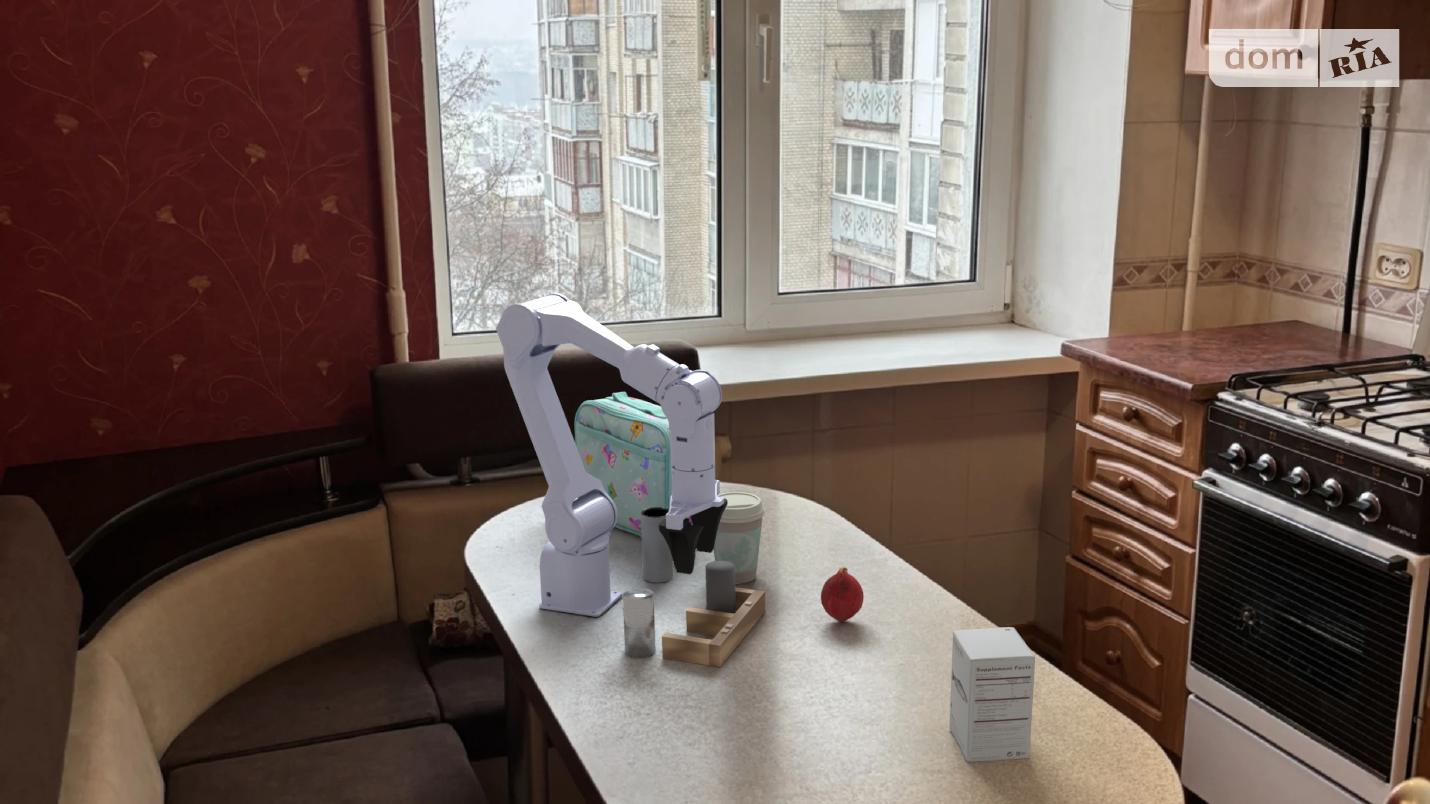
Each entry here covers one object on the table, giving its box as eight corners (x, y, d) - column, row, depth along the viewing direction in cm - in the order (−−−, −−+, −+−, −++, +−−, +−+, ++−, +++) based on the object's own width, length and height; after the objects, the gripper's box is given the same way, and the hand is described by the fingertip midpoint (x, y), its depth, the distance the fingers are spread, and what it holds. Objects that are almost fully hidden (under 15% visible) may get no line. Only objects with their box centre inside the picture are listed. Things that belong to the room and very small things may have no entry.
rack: (662, 657, 164) (661, 635, 163) (711, 603, 180) (711, 582, 179) (720, 667, 161) (719, 644, 160) (765, 611, 177) (765, 590, 176)
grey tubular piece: (677, 572, 190) (676, 508, 188) (666, 584, 186) (665, 518, 184) (649, 569, 192) (647, 505, 189) (638, 580, 188) (636, 515, 185)
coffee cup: (699, 583, 187) (697, 506, 183) (720, 561, 194) (719, 487, 191) (753, 591, 183) (752, 513, 180) (773, 569, 191) (772, 494, 188)
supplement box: (947, 729, 146) (951, 628, 142) (1010, 725, 146) (1015, 625, 143) (965, 764, 139) (969, 658, 135) (1031, 759, 139) (1037, 655, 136)
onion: (861, 632, 170) (861, 577, 168) (818, 629, 171) (818, 574, 169) (865, 614, 175) (865, 560, 173) (823, 611, 177) (823, 558, 174)
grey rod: (619, 655, 165) (617, 598, 163) (632, 642, 168) (630, 586, 166) (648, 660, 163) (646, 602, 161) (660, 646, 167) (658, 590, 165)
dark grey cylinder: (702, 624, 173) (700, 570, 171) (713, 612, 177) (711, 559, 175) (729, 628, 172) (728, 573, 170) (740, 616, 175) (739, 562, 173)
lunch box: (564, 512, 217) (558, 391, 211) (612, 497, 223) (607, 379, 218) (666, 554, 198) (662, 422, 192) (715, 537, 204) (712, 409, 199)
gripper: (702, 485, 158) (703, 586, 161) (740, 451, 171) (741, 545, 174) (649, 479, 160) (652, 579, 164) (691, 446, 173) (693, 539, 177)
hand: (694, 561), depth 169 cm, fingers open, 7 cm apart
